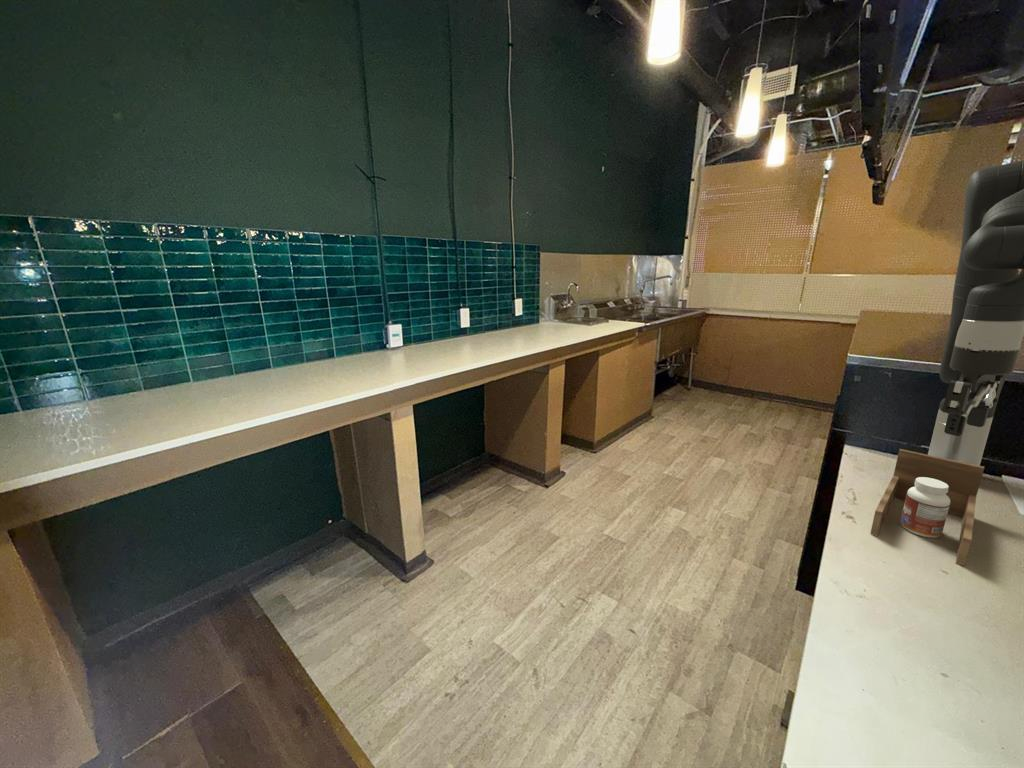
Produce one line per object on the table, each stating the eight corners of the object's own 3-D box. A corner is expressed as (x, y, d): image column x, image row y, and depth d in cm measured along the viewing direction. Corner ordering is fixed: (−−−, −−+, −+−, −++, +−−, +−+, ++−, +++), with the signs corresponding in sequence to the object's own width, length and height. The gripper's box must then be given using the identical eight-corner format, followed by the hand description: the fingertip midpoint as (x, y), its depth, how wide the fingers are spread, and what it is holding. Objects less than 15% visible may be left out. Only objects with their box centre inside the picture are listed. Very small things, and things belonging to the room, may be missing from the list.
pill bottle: (899, 517, 87) (910, 472, 84) (940, 528, 83) (952, 481, 80) (899, 531, 83) (911, 483, 80) (942, 543, 78) (956, 493, 76)
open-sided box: (889, 494, 96) (899, 448, 93) (970, 516, 86) (984, 466, 83) (870, 533, 82) (881, 481, 79) (963, 566, 72) (980, 508, 69)
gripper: (974, 338, 76) (954, 417, 80) (936, 346, 71) (917, 431, 75) (1036, 343, 69) (1011, 429, 73) (999, 352, 64) (974, 445, 68)
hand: (964, 430), depth 74 cm, fingers open, 8 cm apart
